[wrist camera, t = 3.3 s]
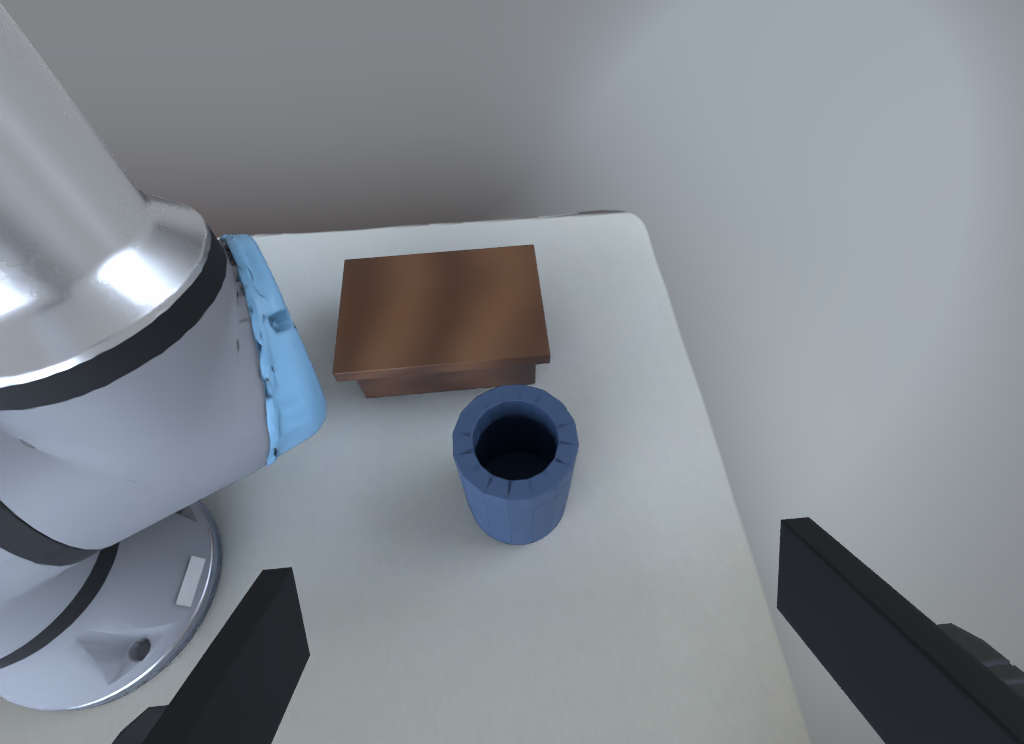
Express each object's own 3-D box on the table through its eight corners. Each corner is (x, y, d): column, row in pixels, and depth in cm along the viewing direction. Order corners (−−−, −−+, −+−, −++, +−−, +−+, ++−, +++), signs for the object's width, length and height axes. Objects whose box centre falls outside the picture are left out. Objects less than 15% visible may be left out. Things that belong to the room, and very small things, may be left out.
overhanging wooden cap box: (354, 409, 45) (332, 374, 40) (362, 302, 52) (344, 259, 47) (547, 392, 46) (550, 355, 41) (533, 287, 52) (533, 244, 47)
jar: (472, 549, 39) (454, 505, 30) (467, 455, 43) (451, 390, 34) (572, 540, 39) (587, 493, 30) (559, 446, 43) (568, 379, 34)
